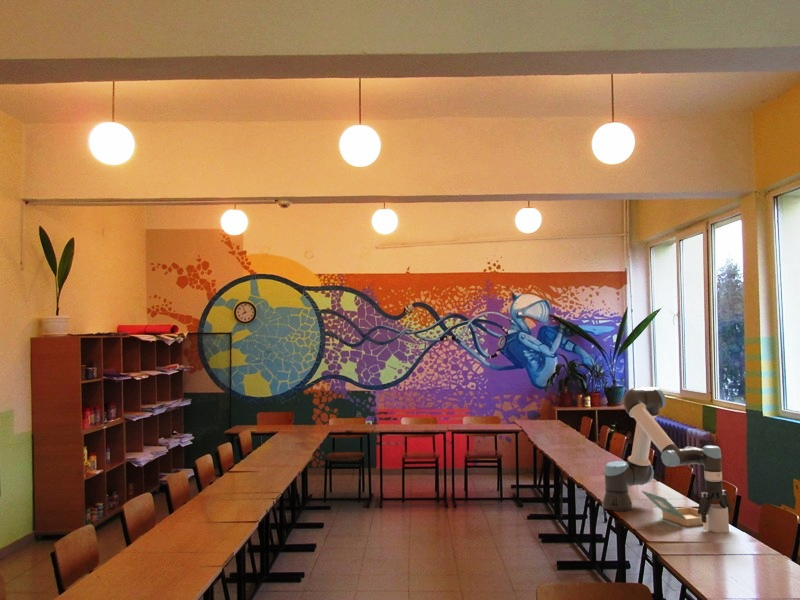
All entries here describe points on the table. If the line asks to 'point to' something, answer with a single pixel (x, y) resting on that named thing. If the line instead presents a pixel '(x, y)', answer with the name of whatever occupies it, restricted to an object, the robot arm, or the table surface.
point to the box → (690, 517)
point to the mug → (718, 519)
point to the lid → (663, 504)
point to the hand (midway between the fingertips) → (715, 528)
